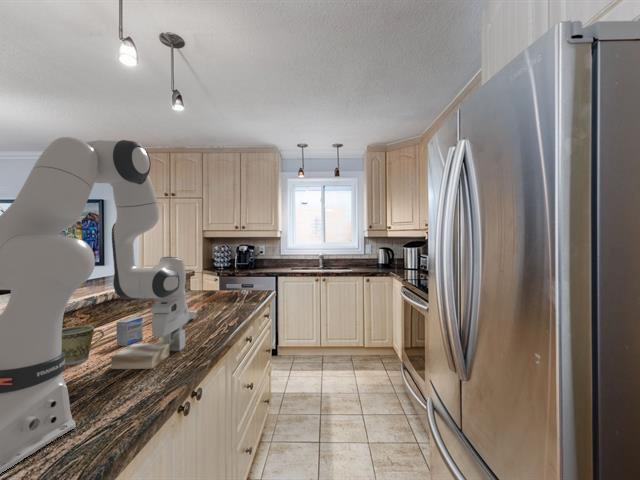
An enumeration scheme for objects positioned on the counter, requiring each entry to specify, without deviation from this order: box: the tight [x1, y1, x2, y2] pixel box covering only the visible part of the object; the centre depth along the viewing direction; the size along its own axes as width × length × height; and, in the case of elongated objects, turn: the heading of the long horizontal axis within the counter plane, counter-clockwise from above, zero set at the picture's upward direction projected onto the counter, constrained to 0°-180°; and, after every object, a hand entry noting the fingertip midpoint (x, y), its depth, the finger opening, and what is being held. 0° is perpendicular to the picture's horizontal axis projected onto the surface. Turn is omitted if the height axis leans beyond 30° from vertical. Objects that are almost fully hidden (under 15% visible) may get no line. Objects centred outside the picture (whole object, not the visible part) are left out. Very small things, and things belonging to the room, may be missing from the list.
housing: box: [158, 329, 186, 352], centre depth 111 cm, size 4×7×6 cm, turn 90°
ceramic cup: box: [62, 325, 105, 367], centre depth 100 cm, size 13×10×10 cm
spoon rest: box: [181, 310, 198, 330], centre depth 146 cm, size 24×12×7 cm, turn 15°
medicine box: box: [115, 316, 144, 347], centre depth 118 cm, size 8×4×9 cm, turn 168°
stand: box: [110, 343, 171, 370], centre depth 99 cm, size 11×12×4 cm
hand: (172, 342), depth 111 cm, fingers closed on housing, 4 cm apart
